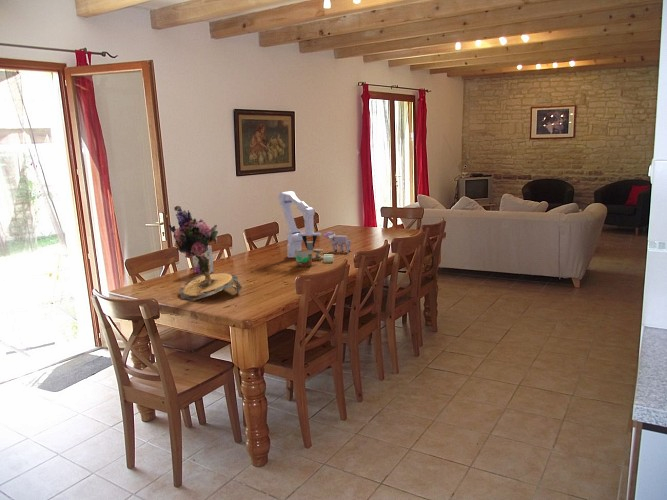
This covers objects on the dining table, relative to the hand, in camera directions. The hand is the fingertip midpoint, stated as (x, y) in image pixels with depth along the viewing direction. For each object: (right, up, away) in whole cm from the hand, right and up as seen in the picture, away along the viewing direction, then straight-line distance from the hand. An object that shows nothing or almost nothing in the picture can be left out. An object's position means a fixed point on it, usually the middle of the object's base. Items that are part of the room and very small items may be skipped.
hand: (310, 247), depth 345 cm
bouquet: (-49, -24, -67) cm, 86 cm away
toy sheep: (+17, -3, +27) cm, 32 cm away
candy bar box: (-63, -16, -22) cm, 69 cm away
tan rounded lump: (+5, -7, +5) cm, 10 cm away
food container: (-4, -12, -16) cm, 20 cm away
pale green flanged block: (+12, -9, -3) cm, 15 cm away
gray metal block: (0, -1, 0) cm, 2 cm away
